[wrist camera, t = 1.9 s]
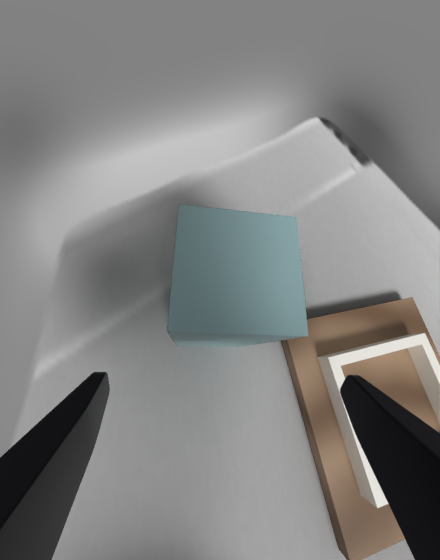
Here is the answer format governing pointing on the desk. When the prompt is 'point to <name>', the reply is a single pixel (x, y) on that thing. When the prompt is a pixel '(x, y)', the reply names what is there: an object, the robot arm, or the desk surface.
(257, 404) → the desk surface
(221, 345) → the pale blue tall block
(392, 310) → the wooden tray with frame
